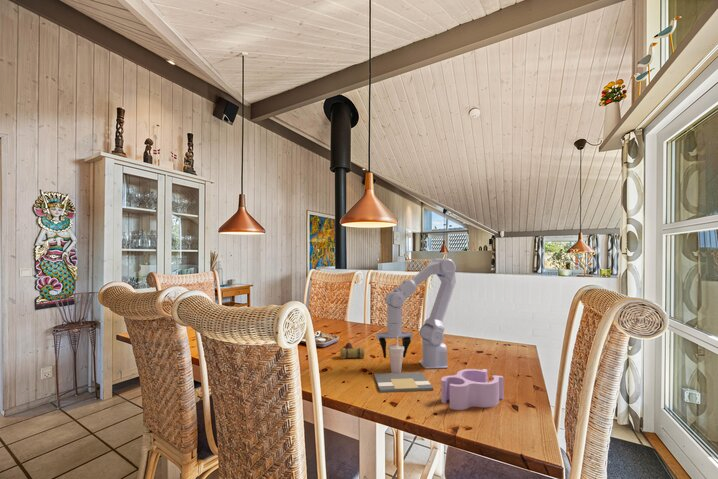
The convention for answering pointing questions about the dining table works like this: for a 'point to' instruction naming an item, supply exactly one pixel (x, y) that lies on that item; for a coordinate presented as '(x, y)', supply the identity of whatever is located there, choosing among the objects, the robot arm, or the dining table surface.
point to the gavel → (352, 352)
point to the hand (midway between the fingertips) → (394, 356)
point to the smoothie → (396, 357)
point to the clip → (471, 389)
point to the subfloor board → (402, 382)
